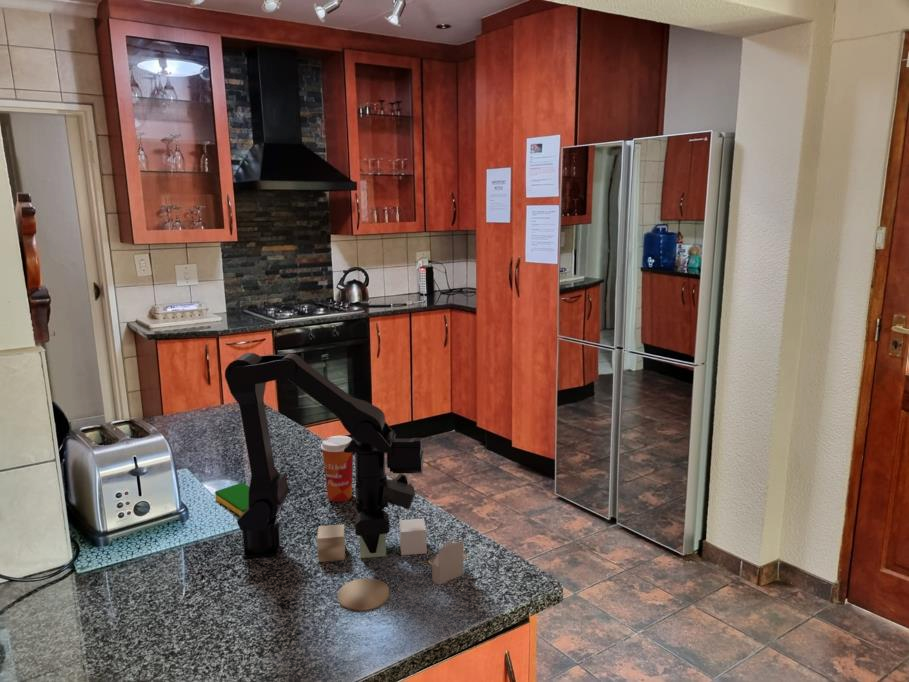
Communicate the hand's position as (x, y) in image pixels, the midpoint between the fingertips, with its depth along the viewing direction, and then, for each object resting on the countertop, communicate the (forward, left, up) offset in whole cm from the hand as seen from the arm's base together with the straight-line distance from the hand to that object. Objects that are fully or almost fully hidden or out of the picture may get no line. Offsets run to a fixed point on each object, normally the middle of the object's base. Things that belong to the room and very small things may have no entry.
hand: (372, 545), depth 130 cm
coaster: (-2, -15, -1) cm, 15 cm away
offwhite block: (+8, 0, -1) cm, 8 cm away
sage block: (0, 0, -1) cm, 1 cm away
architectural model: (+13, -12, -2) cm, 18 cm away
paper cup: (-7, +26, -1) cm, 27 cm away
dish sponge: (-29, +26, -2) cm, 39 cm away
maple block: (-8, 0, -1) cm, 8 cm away
